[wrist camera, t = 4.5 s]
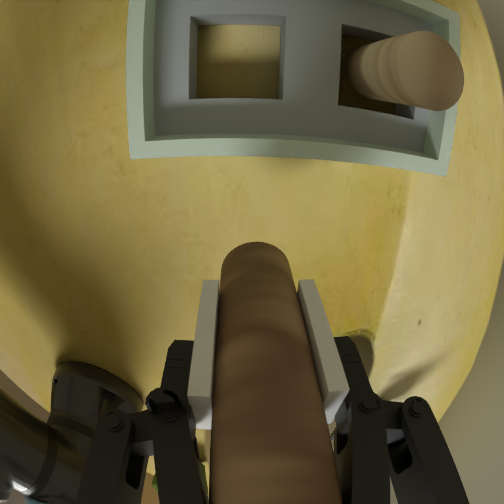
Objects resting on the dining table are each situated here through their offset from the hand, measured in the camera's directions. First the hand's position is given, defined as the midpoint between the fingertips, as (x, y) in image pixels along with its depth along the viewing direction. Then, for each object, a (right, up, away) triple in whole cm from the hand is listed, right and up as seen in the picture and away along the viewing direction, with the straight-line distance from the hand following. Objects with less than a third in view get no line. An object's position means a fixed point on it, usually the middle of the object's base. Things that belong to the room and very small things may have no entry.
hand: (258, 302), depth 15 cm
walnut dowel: (0, +1, +2) cm, 3 cm away
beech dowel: (+8, +15, +2) cm, 17 cm away
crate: (+3, +15, +2) cm, 16 cm away
